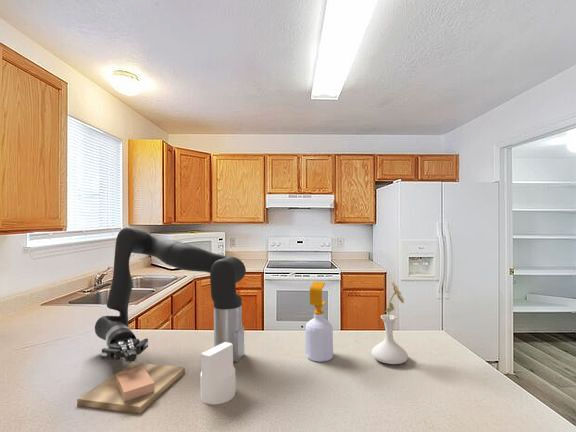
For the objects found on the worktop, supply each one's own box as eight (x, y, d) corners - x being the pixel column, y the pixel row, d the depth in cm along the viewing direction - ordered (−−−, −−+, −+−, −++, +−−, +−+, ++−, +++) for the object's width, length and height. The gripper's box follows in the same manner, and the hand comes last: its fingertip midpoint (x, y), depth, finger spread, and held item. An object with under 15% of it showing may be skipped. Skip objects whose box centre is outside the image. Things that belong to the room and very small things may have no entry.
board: (185, 372, 92) (184, 367, 92) (140, 413, 73) (140, 406, 73) (133, 367, 96) (133, 362, 96) (77, 405, 76) (77, 398, 76)
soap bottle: (336, 352, 104) (335, 281, 105) (328, 364, 96) (326, 286, 96) (311, 348, 108) (310, 279, 108) (302, 359, 100) (300, 284, 100)
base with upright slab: (218, 408, 74) (217, 359, 74) (193, 397, 79) (192, 351, 79) (242, 390, 82) (241, 345, 82) (218, 381, 87) (217, 339, 87)
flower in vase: (399, 372, 90) (397, 287, 91) (365, 360, 98) (363, 282, 99) (415, 357, 100) (414, 280, 100) (383, 347, 108) (381, 277, 108)
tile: (115, 373, 84) (124, 392, 74) (143, 365, 88) (154, 382, 79) (115, 382, 84) (124, 402, 74) (143, 374, 88) (154, 392, 79)
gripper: (96, 332, 93) (104, 351, 79) (142, 323, 101) (157, 338, 88) (96, 357, 93) (104, 380, 79) (142, 345, 101) (157, 364, 87)
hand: (132, 358), depth 83 cm, fingers closed
